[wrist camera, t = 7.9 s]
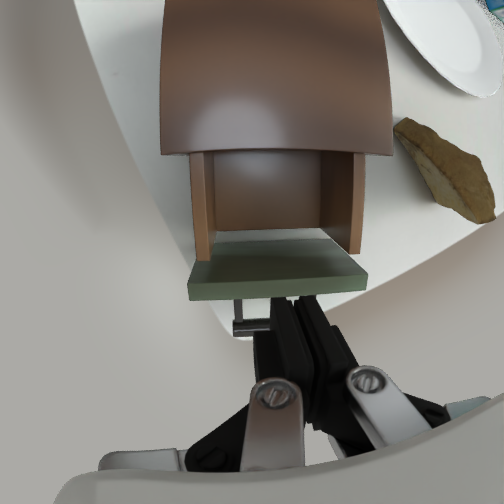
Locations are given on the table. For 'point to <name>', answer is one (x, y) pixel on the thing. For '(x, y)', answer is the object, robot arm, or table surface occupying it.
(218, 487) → the robot arm
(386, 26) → the table surface
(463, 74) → the plate
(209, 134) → the cabinet
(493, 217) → the rock
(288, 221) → the drawer
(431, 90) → the table surface
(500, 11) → the milk carton
